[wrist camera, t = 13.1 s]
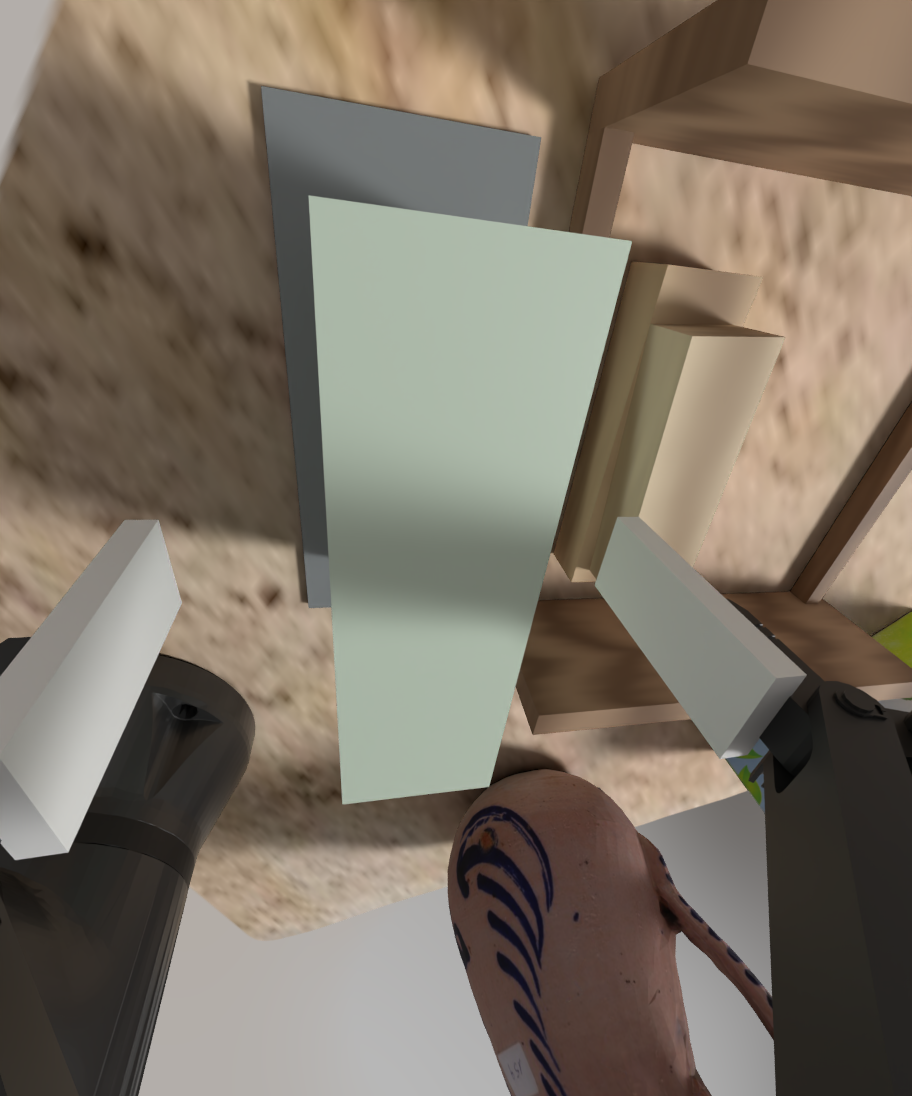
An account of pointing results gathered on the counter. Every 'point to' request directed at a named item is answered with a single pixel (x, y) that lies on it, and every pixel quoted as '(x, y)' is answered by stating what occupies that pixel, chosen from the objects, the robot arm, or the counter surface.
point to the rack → (773, 143)
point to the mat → (380, 179)
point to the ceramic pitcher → (578, 943)
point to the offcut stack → (667, 411)
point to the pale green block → (444, 469)
